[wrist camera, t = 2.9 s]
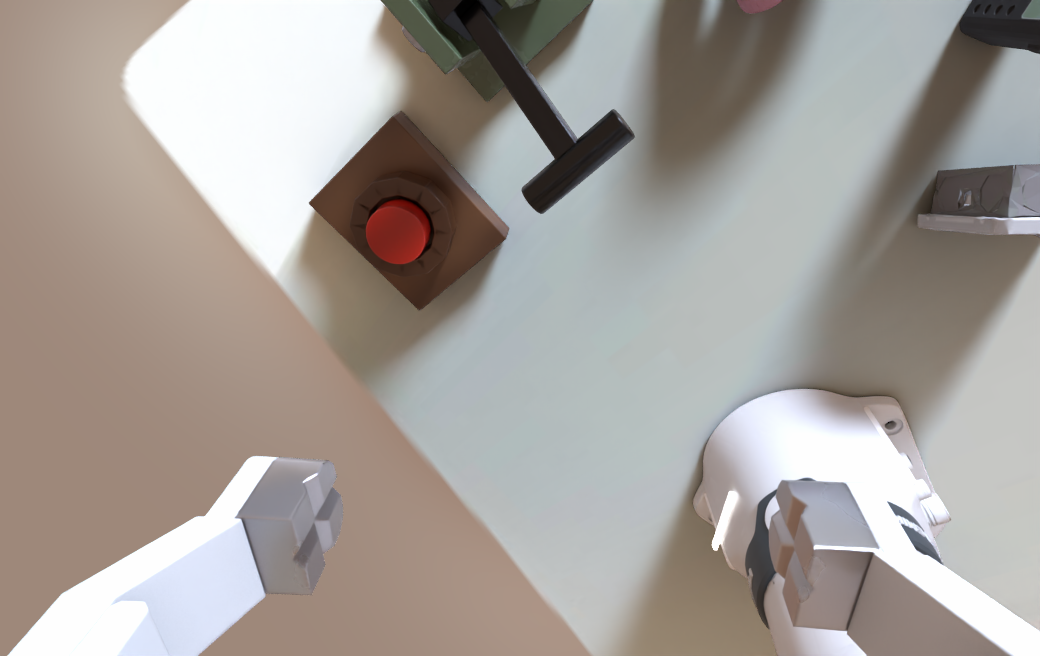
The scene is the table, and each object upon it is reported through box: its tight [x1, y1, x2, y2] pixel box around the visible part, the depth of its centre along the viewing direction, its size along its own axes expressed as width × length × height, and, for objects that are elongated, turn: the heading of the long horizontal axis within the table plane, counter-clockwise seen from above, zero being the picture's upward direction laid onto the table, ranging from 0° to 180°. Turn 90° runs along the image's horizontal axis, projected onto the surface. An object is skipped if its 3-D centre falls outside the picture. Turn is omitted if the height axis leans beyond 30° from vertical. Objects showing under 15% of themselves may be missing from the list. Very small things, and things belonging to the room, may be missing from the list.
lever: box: [428, 0, 635, 214], centre depth 27 cm, size 12×5×2 cm
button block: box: [309, 111, 509, 310], centre depth 44 cm, size 11×9×4 cm
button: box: [366, 199, 431, 264], centre depth 42 cm, size 4×4×2 cm
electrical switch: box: [918, 164, 1040, 237], centre depth 37 cm, size 9×5×9 cm, turn 93°
